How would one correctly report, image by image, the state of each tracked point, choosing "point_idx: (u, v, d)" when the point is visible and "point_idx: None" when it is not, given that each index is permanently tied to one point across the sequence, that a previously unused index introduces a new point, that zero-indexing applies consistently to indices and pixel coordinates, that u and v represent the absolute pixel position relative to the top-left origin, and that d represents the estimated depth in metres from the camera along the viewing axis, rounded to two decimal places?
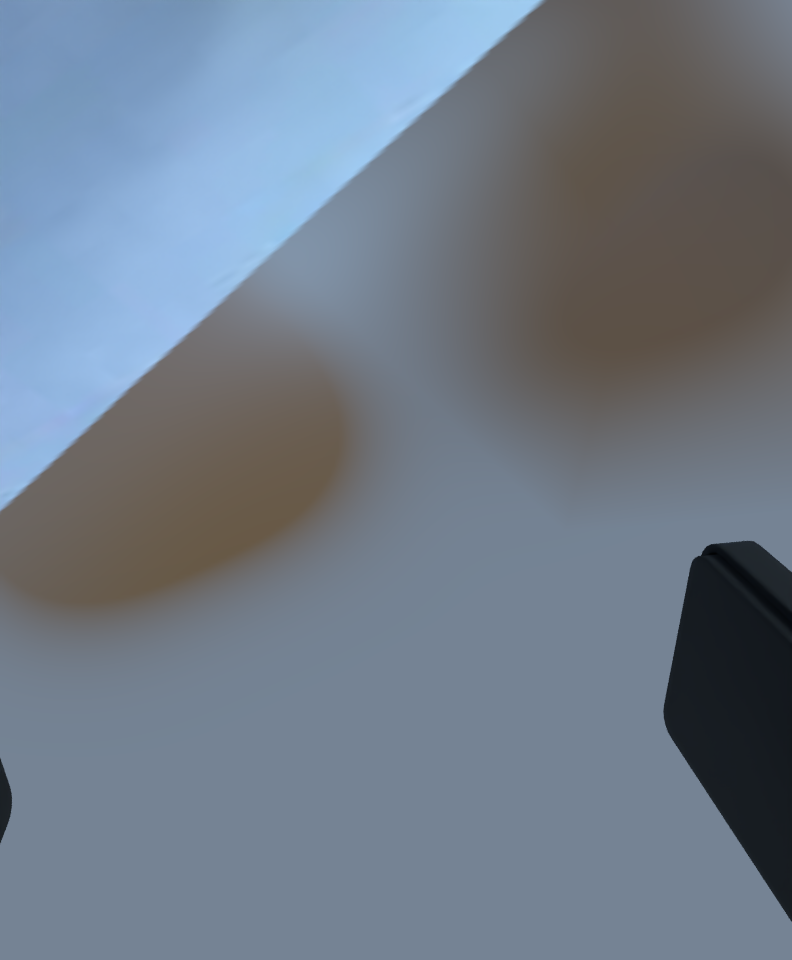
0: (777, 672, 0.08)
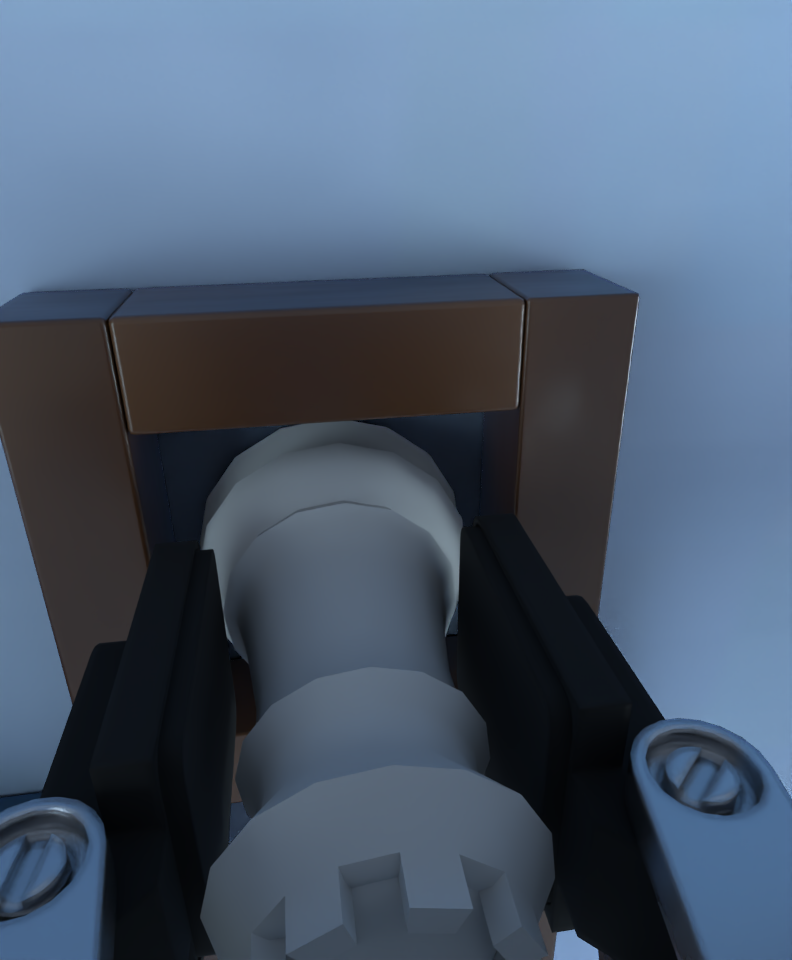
0: (496, 628, 0.09)
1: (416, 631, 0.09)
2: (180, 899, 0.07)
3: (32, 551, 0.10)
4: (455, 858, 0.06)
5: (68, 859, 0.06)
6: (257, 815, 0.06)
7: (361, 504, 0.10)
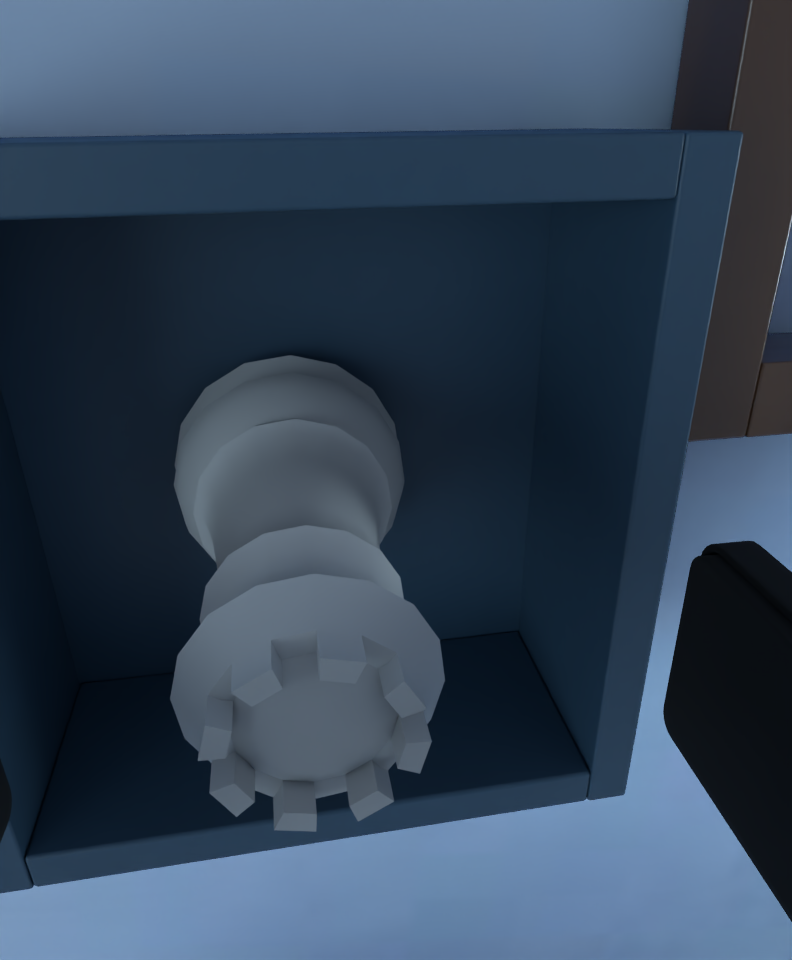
0: (777, 672, 0.08)
1: (350, 513, 0.11)
2: None
3: None
4: (357, 636, 0.08)
5: None
6: (213, 611, 0.08)
7: (309, 420, 0.12)
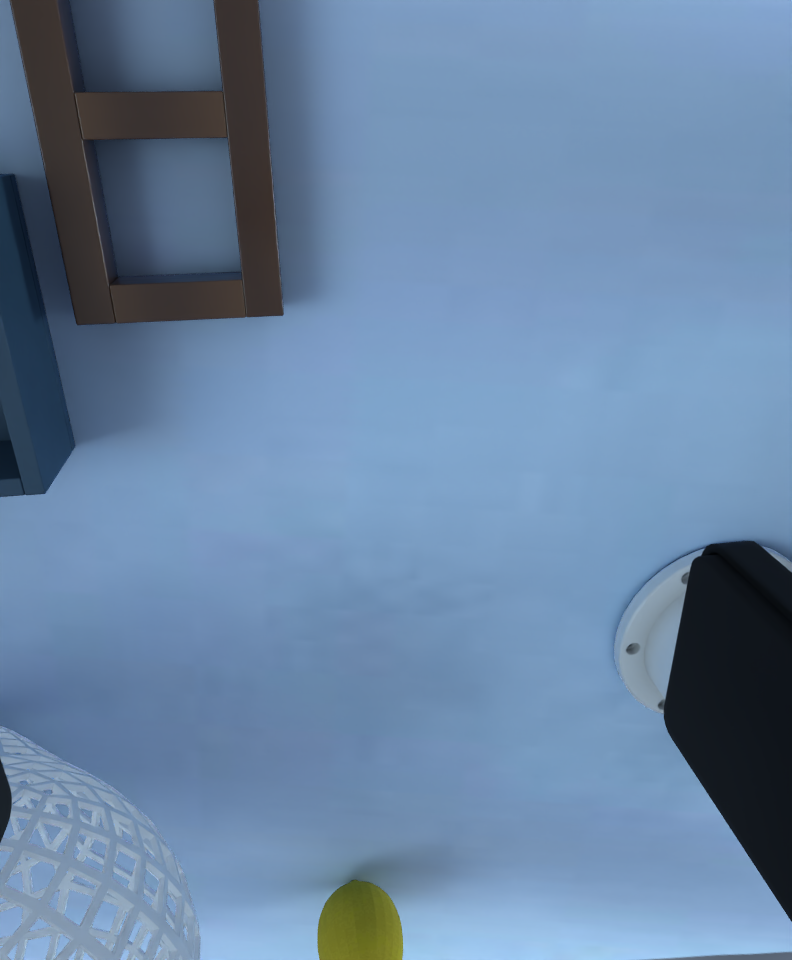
0: (777, 672, 0.08)
1: None
2: None
3: None
4: None
5: None
6: None
7: None
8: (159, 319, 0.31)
